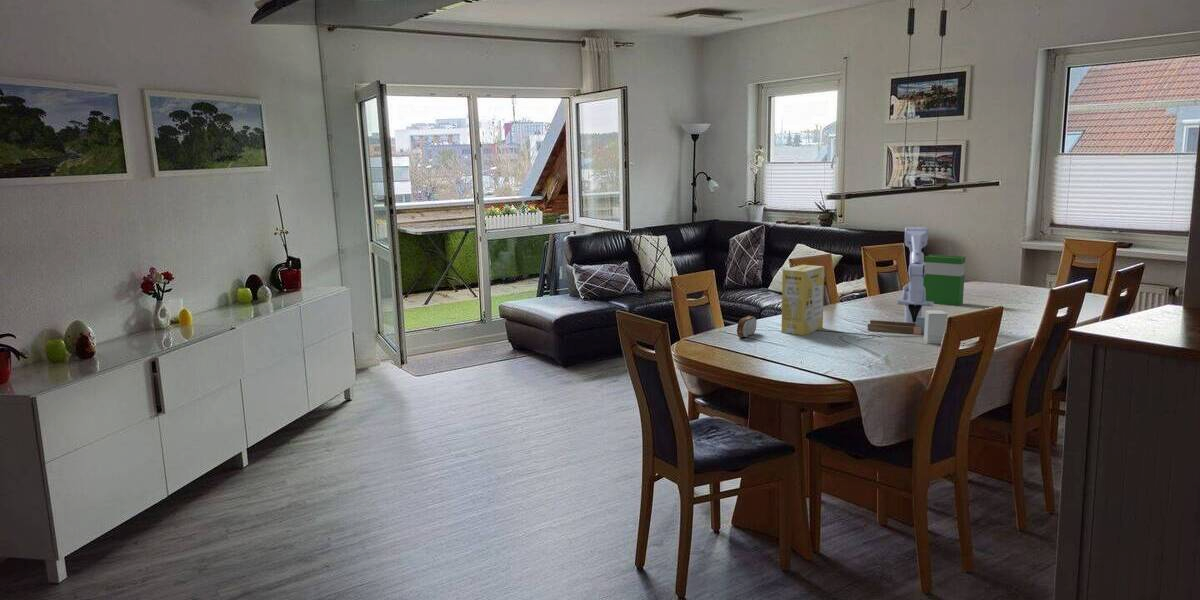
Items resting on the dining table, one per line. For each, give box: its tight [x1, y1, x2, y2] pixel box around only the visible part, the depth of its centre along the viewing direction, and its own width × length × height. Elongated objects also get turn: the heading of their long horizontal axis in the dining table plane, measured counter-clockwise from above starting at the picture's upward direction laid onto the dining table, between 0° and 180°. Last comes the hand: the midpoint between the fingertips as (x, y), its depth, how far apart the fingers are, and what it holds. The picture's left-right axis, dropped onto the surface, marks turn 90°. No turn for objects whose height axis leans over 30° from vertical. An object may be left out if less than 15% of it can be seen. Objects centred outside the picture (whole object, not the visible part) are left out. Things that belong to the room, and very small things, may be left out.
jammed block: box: [916, 316, 925, 335], centre depth 350 cm, size 6×6×6 cm
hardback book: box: [923, 254, 966, 307], centre depth 411 cm, size 18×7×24 cm, turn 52°
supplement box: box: [923, 309, 948, 345], centre depth 333 cm, size 7×7×13 cm
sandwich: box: [736, 315, 758, 338], centre depth 352 cm, size 15×3×8 cm, turn 145°
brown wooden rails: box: [867, 319, 922, 335], centre depth 356 cm, size 9×22×3 cm, turn 65°
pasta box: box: [781, 264, 825, 336], centre depth 359 cm, size 18×10×28 cm, turn 138°
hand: (914, 321), depth 352 cm, fingers closed
